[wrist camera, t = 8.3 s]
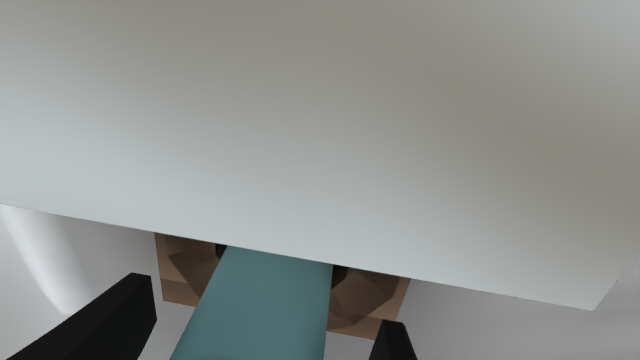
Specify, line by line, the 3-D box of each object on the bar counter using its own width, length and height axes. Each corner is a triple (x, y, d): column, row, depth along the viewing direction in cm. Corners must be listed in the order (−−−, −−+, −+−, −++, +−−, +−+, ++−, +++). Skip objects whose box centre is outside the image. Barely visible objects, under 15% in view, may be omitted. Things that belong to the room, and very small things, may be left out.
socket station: (381, 305, 18) (395, 559, 10) (188, 270, 18) (54, 491, 10) (506, -68, 10) (1032, -244, 2) (159, -122, 10) (-518, -461, 2)
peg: (325, 260, 17) (299, 459, 10) (244, 239, 17) (158, 425, 10) (348, 191, 15) (335, 381, 8) (255, 167, 15) (157, 338, 8)
